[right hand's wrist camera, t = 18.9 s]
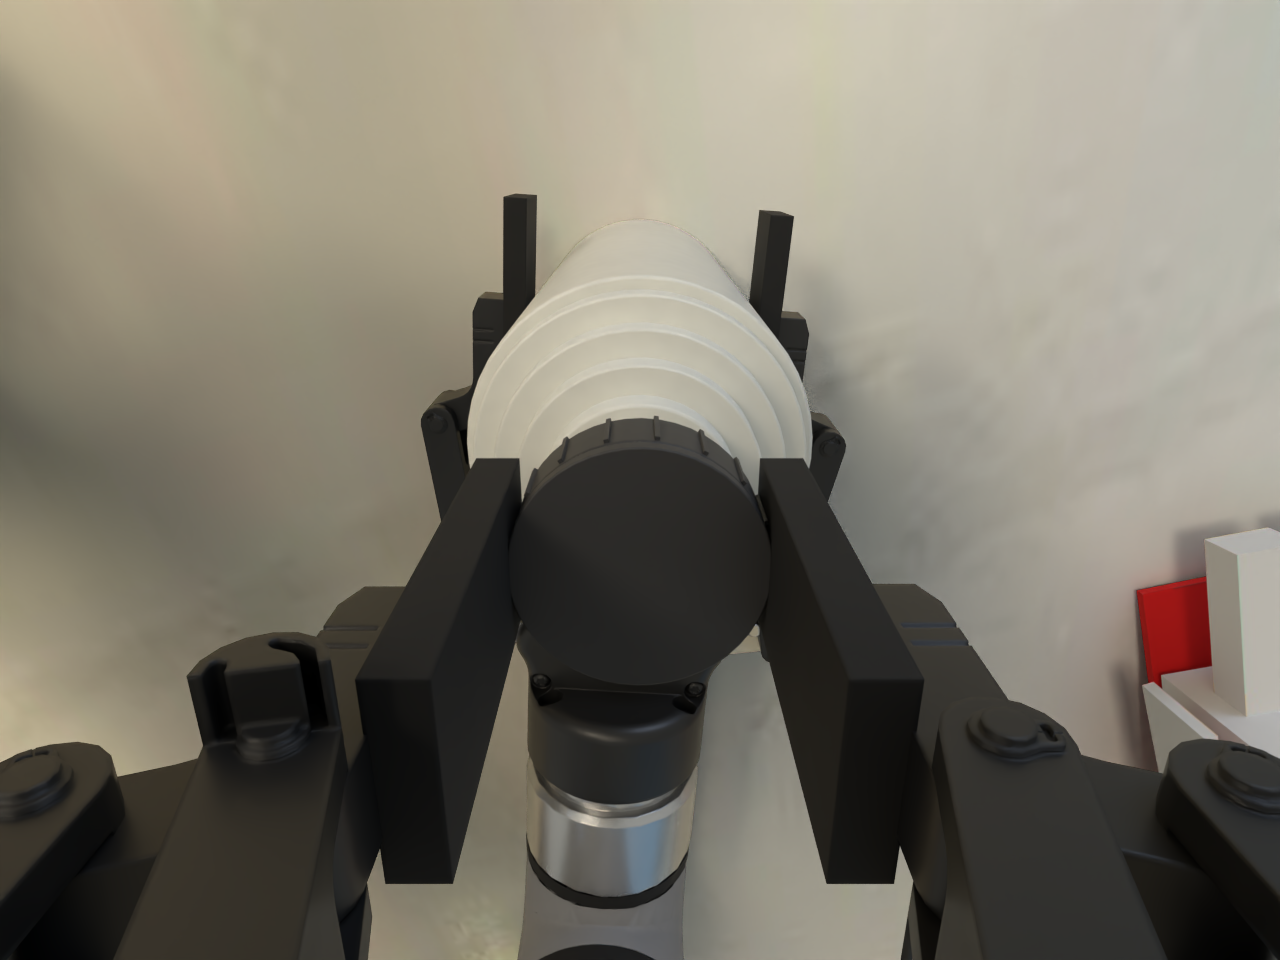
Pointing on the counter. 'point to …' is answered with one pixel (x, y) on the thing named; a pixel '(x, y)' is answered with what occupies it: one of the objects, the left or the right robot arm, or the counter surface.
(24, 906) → the right robot arm
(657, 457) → the cap
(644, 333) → the bottle
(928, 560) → the counter surface
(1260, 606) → the toy
